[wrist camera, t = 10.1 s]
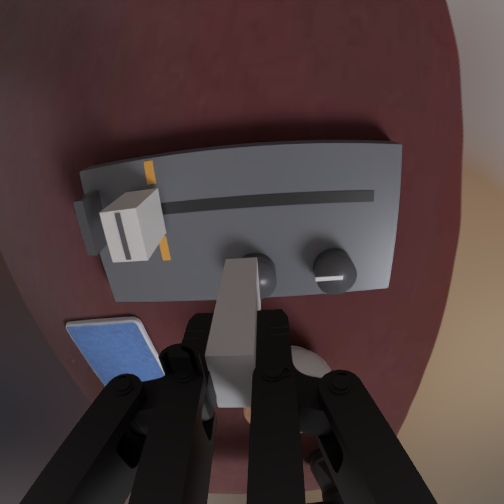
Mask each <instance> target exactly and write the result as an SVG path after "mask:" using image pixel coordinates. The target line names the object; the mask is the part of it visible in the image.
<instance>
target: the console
mask: <svg viewBox="0 0 504 504" xmlns="http://www.w3.org/2000/svg"><path fill="white" fill-rule="evenodd" d="M401 163H402V144H399V143H396V142H393V141H384V140H296V141H274V142H258V143H245V144H233V145H223V146H213V147H204V148H195V149H187V150H180V151H173V152H166V153H159V154H153V155H146V156H141V157H135V158H129V159H124V160H118V161H113V162H108V163H103V164H98V165H94V166H90V167H88V168H86V169H84V170H82V171H80V172H79V173H80V177H81V182H82V187H83V191H84V195H83V196H82V197H80V198H79V199H77V200H75V201H74V202H73V204H74V208H75V212H76V216H77V219H78V223H79V227H80V230H81V234H82V237H83V241H84V244H85V247H86V251H87V254H88V256H94V255H98V254H99V253H100V256H101V259H102V262H103V265H104V268H105V271H106V275H107V278H108V281H109V283H110V286H111V289H112V292H113V295H114V298H115V301H116V302H151V301H196V300H217V296H218V292H219V287H220V283H221V278H222V274H223V270H224V265H225V261H226V259H236V258H253V257H257V263H258V276H259V288H260V299H264V298H266V297H282V296H298V295H312V294H325V293H327V294H331V295H337V294H341V293H344V292H350V291H361V290H372V289H382V288H388V286H389V280H390V273H391V267H392V260H393V253H394V246H395V238H396V229H397V220H398V209H399V198H400V183H401ZM154 188H158V191H159V197H160V203H161V208H162V213H163V219H164V224H165V229H166V234H165V235H164V237H163V238H162V240H161V241H160V243H159V244H158V246H157V248H156V249H155V251H154V252H153V254H152V255H151V257H150V258H149V260H148V261H131V262H114V263H113V261H112V258H111V255H110V251H109V248H108V244H107V241H106V237H105V233H104V229H103V226H102V222H101V218H100V214H99V213H100V212H101V211H102V210H103V209H105V208H106V207H107V206H109V205H110V204H111V203H112V202H114V201H115V200H116V199H118V198H119V197H120V196H122V195H123V194H124V193H126V192H132V191H139V190H147V189H154Z"/></svg>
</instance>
